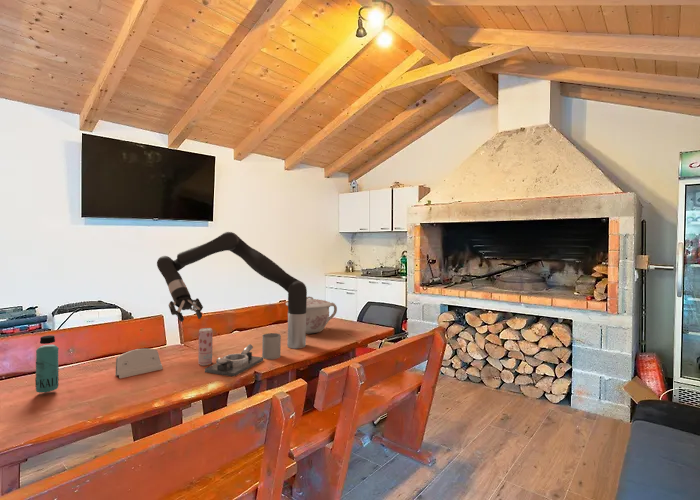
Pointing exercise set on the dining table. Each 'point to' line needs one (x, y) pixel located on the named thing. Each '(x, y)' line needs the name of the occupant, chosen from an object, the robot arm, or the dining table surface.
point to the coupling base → (234, 369)
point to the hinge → (137, 362)
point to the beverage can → (205, 346)
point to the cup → (271, 346)
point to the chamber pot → (317, 314)
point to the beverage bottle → (46, 366)
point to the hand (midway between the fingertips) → (191, 319)
